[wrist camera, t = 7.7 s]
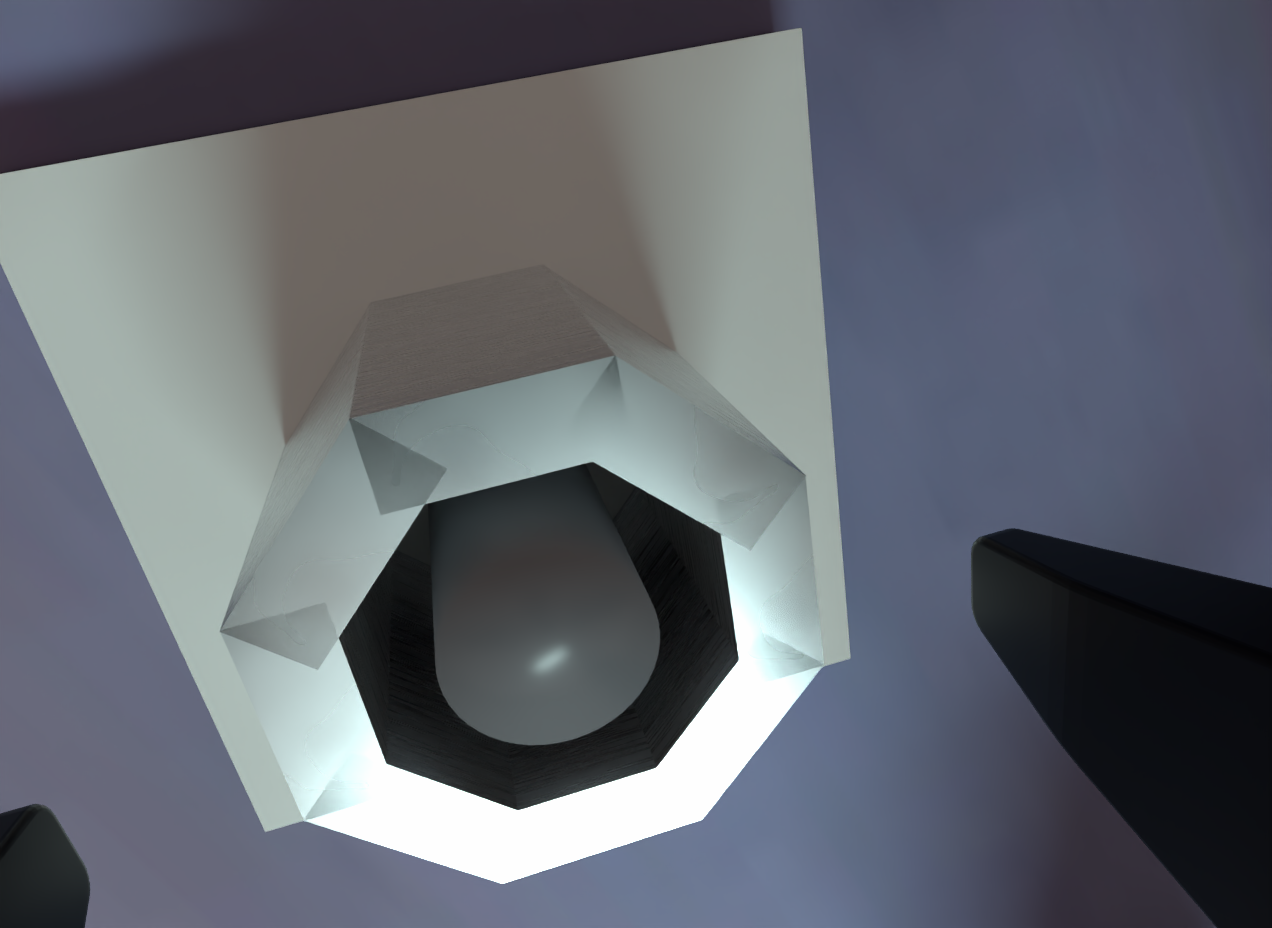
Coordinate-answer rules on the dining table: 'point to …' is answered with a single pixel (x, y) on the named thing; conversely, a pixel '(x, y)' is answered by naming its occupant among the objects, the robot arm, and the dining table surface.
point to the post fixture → (420, 260)
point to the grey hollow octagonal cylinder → (402, 590)
